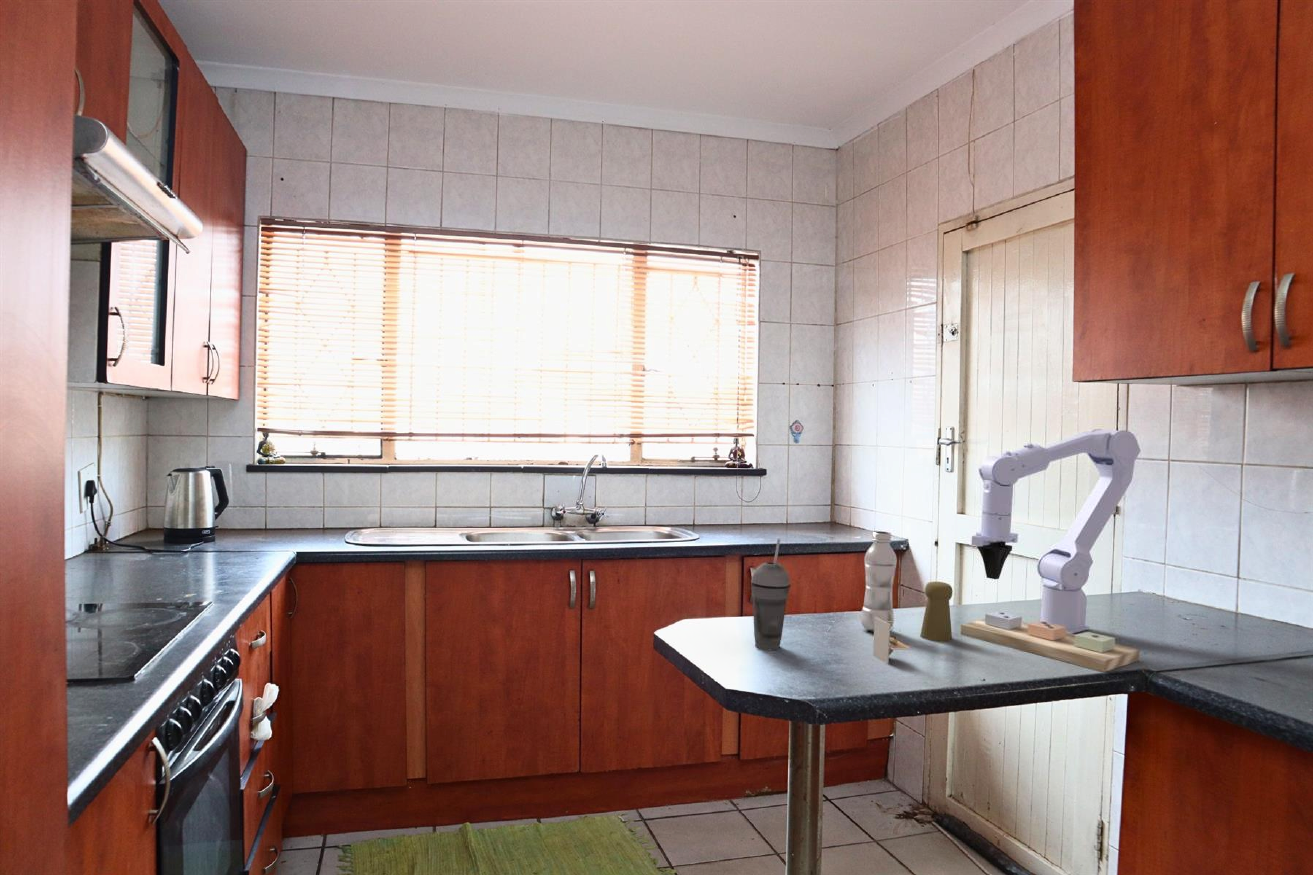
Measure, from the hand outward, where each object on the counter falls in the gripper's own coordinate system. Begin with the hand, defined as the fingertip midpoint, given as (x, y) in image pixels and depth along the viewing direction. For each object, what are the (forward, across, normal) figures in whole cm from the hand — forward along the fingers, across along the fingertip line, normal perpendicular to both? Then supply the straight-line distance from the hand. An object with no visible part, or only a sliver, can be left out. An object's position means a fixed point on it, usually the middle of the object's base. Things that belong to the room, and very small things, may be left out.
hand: (992, 578), depth 174 cm
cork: (+11, +18, -1) cm, 21 cm away
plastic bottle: (+11, +25, -10) cm, 29 cm away
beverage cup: (+11, +53, -13) cm, 55 cm away
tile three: (+8, +4, +14) cm, 17 cm away
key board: (+10, +4, +14) cm, 18 cm away
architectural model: (+11, +40, +3) cm, 41 cm away
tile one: (+8, +4, +23) cm, 25 cm away
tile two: (+8, +4, +5) cm, 10 cm away
